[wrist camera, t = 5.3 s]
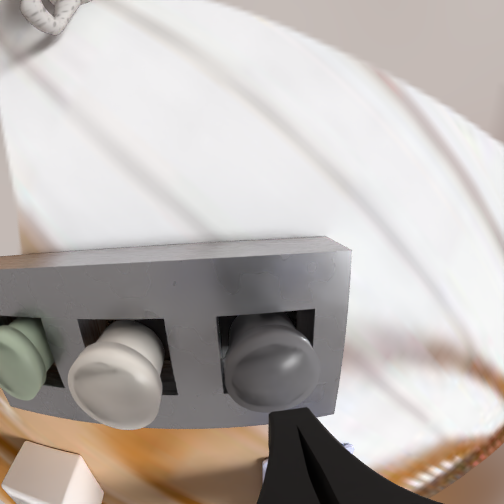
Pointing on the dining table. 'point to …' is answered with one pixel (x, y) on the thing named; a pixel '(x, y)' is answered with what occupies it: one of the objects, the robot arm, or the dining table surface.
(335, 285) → the key console
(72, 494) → the medicine bottle
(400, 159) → the dining table surface
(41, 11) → the mug
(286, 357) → the grey rounded knob
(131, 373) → the ivory key
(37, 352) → the sage key
